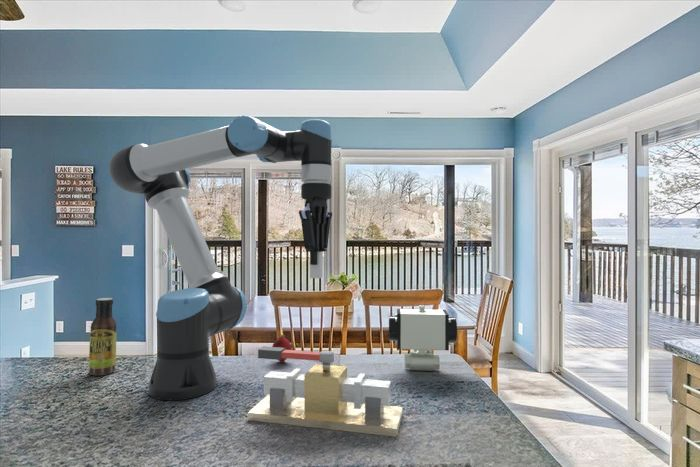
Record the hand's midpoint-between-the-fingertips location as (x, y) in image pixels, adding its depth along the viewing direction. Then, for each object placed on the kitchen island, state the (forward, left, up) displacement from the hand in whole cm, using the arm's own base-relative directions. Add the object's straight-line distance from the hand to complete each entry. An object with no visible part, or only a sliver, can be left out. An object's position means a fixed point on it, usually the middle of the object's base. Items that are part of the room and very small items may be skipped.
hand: (316, 277), depth 105 cm
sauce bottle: (-58, -6, -27) cm, 64 cm away
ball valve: (+25, +17, -27) cm, 40 cm away
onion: (-15, +14, -27) cm, 34 cm away
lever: (+2, -18, -15) cm, 23 cm away
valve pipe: (+8, -18, -26) cm, 33 cm away
